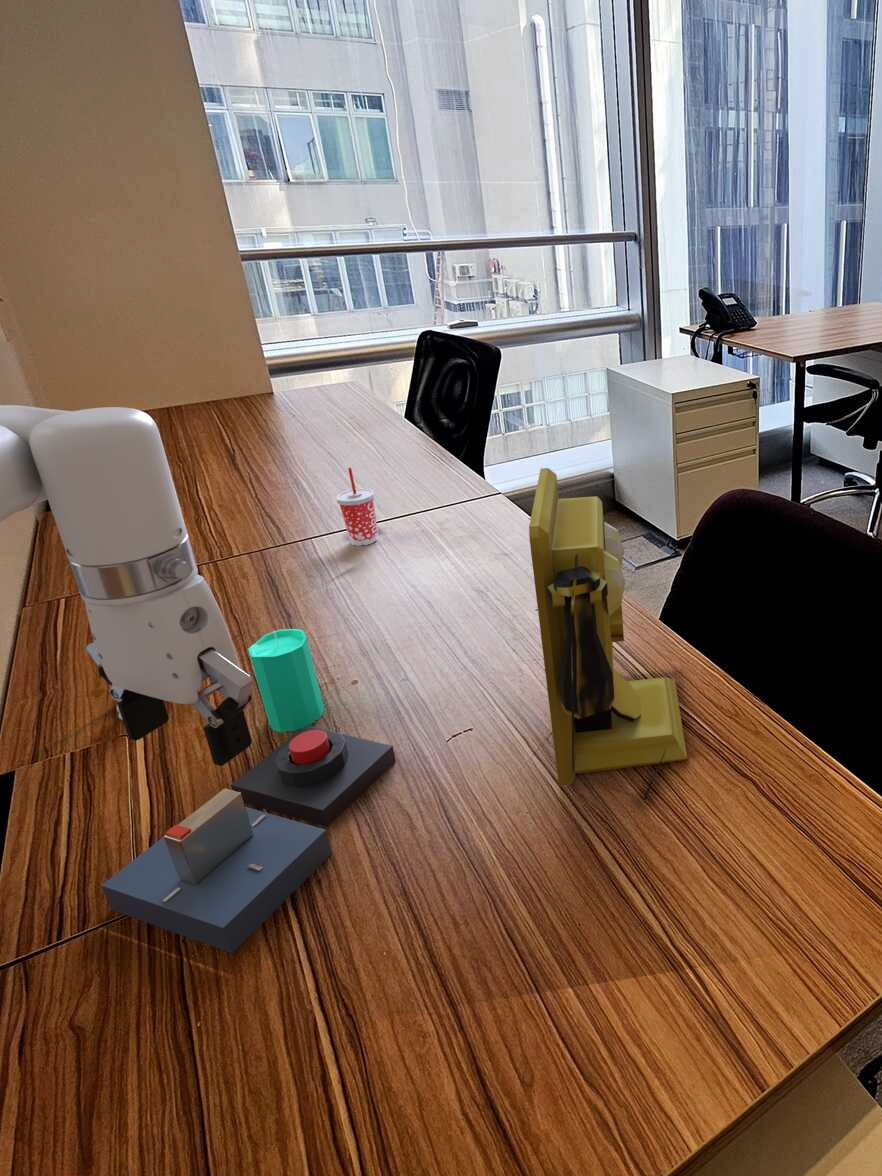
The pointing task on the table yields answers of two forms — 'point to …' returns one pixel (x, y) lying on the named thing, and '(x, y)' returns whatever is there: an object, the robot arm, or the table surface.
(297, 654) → the candle
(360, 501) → the beverage cup
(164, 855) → the control panel
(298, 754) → the button
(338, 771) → the button block
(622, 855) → the table surface
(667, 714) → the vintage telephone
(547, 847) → the table surface
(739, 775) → the table surface
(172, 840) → the handle
